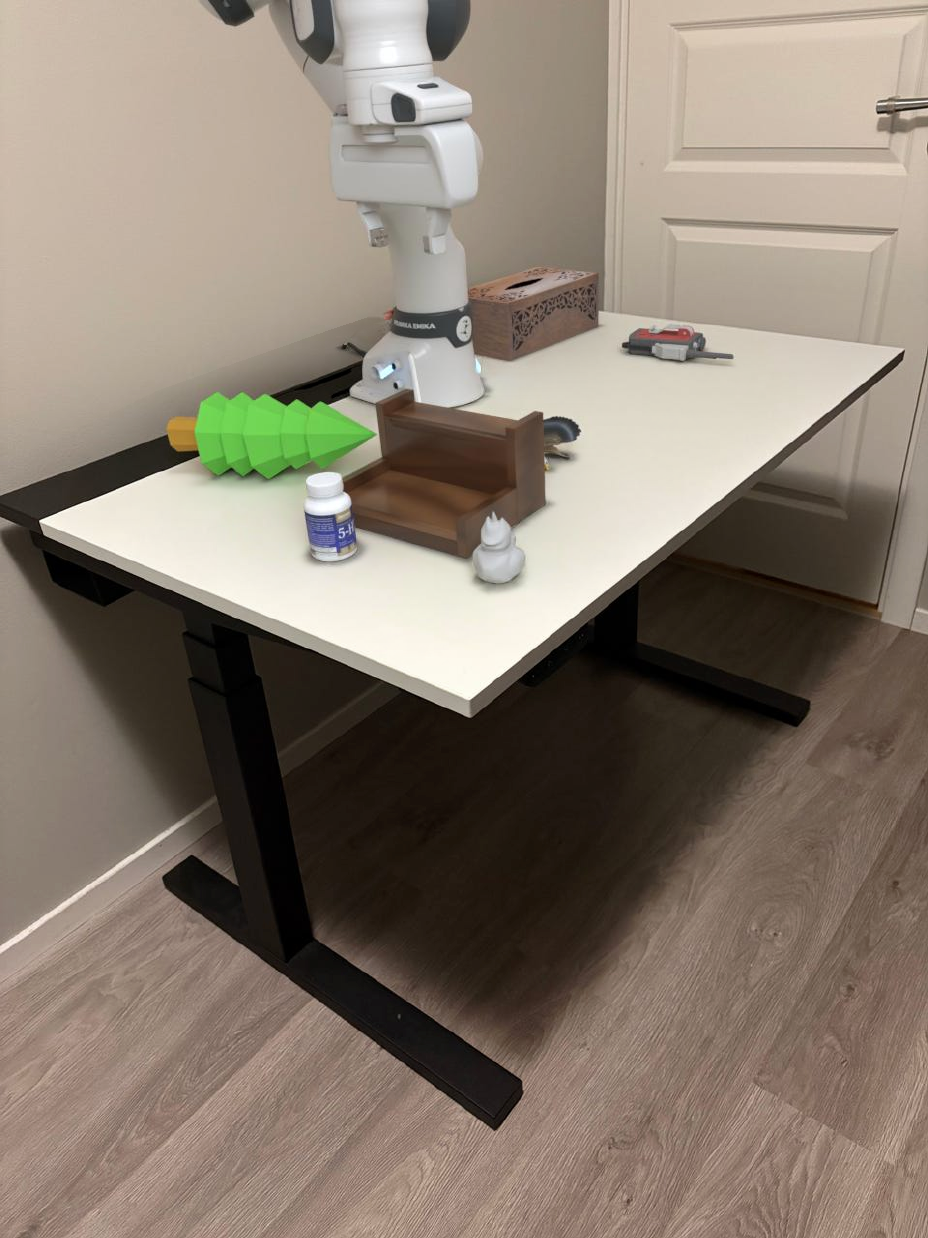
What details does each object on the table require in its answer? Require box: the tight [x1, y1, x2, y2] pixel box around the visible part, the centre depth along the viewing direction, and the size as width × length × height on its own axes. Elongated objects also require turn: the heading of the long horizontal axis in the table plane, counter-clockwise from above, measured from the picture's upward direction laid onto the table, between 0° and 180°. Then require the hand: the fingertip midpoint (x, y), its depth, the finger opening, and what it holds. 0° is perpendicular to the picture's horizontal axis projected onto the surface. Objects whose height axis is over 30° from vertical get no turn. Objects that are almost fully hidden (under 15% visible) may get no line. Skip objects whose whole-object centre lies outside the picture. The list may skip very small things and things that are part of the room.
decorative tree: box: [165, 391, 378, 480], centre depth 126 cm, size 11×12×30 cm
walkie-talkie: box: [621, 323, 734, 362], centre depth 160 cm, size 9×4×20 cm
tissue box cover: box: [467, 265, 600, 362], centre depth 175 cm, size 26×14×10 cm, turn 137°
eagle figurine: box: [543, 415, 582, 471], centre depth 123 cm, size 8×7×9 cm
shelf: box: [342, 389, 547, 559], centre depth 111 cm, size 16×20×12 cm
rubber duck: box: [471, 512, 526, 584], centre depth 97 cm, size 5×7×8 cm
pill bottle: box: [303, 471, 358, 562], centre depth 105 cm, size 5×5×9 cm
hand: (406, 249), depth 100 cm, fingers open, 8 cm apart
